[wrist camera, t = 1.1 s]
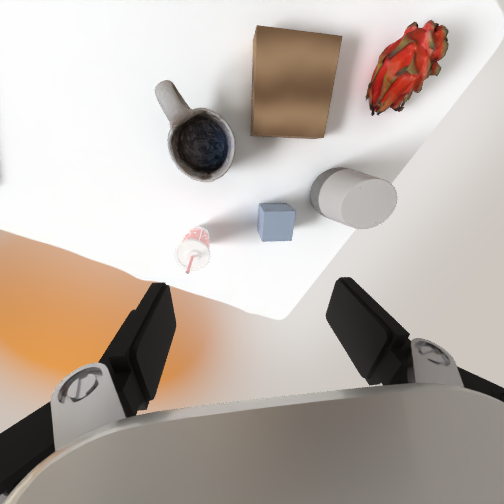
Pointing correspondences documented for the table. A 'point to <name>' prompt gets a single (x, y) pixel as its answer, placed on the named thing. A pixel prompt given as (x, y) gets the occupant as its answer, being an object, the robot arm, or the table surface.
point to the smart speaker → (353, 198)
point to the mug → (196, 136)
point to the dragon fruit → (406, 66)
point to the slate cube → (275, 222)
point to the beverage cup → (193, 249)
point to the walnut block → (292, 82)
